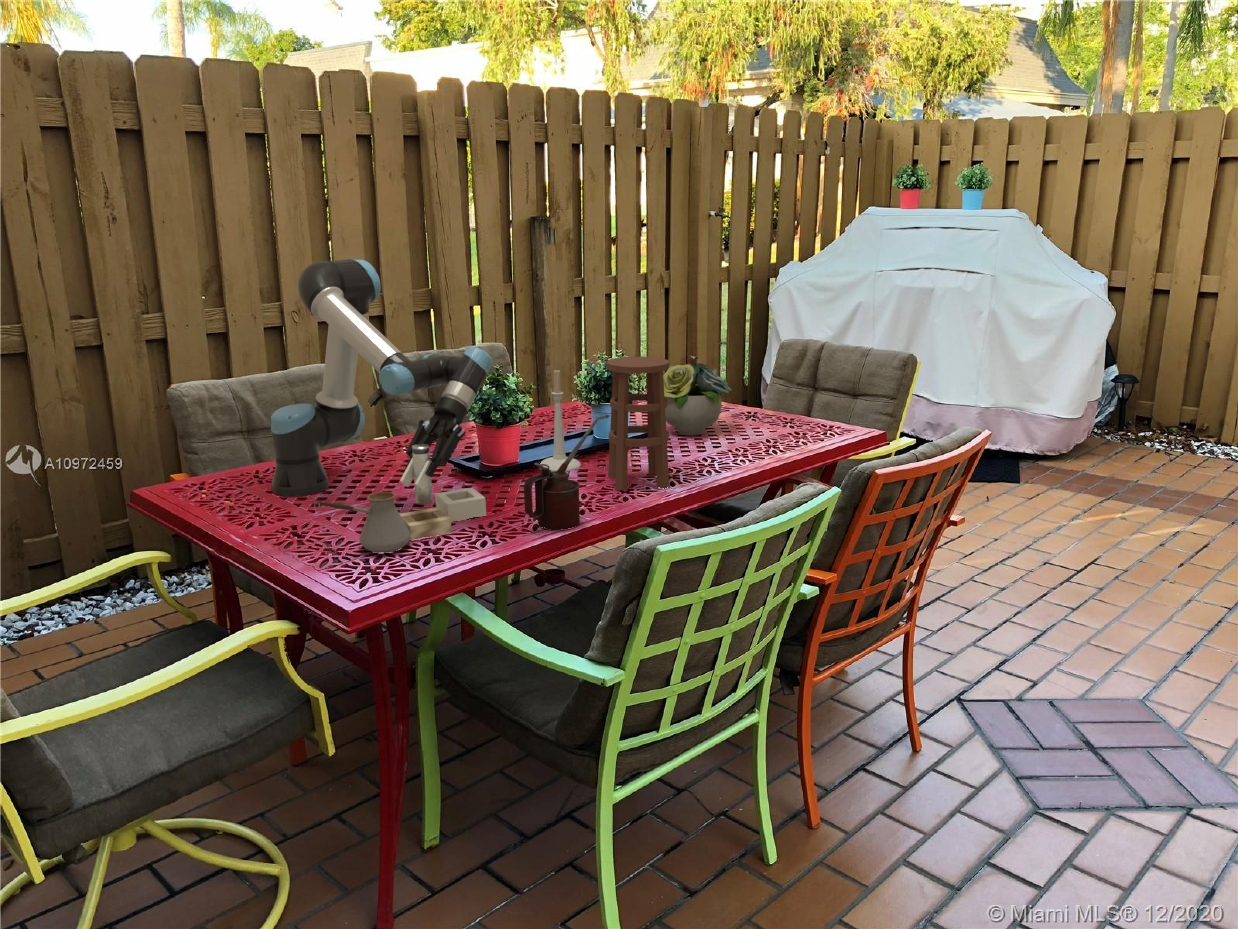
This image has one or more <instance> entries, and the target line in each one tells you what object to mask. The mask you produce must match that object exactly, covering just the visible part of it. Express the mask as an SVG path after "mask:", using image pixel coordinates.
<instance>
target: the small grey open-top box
mask: <svg viewBox="0 0 1238 929" xmlns="http://www.w3.org/2000/svg"><path fill="white" fill-rule="evenodd" d="M434 496H435V497H434V498H435V508H436V507H438V508H439V509H440V510H441V511H442V512H443V513H445V514H446V515H447V516H448V517H449V518H450V519H451V522H452V521H457V520H464V521H467V520H466V519H469V518H473V517H481V516H486V517H487V504H486V502H487V501H486V500H487V499H486V497H485V496H484V495H482V494H481V493H480V492H478V491H477V490H475V488H473V487H468V488H462V489H455V490H448V491H444V492H443V491H442V492H438V493H436V492H435V493H434ZM481 518H482V517H481ZM469 520H470V519H469Z"/></svg>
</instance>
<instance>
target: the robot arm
mask: <svg viewBox="0 0 1238 929" xmlns="http://www.w3.org/2000/svg"><path fill="white" fill-rule="evenodd" d="M381 288H382V287H381V280H380V276H379V274H378V273H377V271H376V269H375V267H374V266H373V265H372V264H371V263H370V262H368V261H366V260H363V259H354V258H348V259H339V260H326V261H325V260H321V261H319V260H318V261H315V262H312V263H311V264H309V265H307V266H306V267H305V268H304V269H303V270H302V271H301V273H300V275H299V277H298V282H297V291H298V296H299V299H300V300H301V302H302V304H303V306H304V307H305V308H306V310H308V312H309V313H311V315H313V316H314V317H315V318H317V319H323V321H324V322H326V323H327V324H328V328H327V339H326V350H325V358H324V359H325V360H324V370H323V380H322V387H321V388H322V389H321V391H319V392H318V393H317V394H316V396H315V404H314V405H312V404H310V403H296V404H290V405H289V404H288V405H285V406H282V407H280V408H278V409H276V410H275V411H273V412H272V415H271V416H270V425H271V426H270V431H271V434H272V442H273V443H272V444H273V450H274V458H275V469H274V473H273V478H272V483H271V488H272V493H273V492H274V493H276V494H279V495H278V496H280V495H282V497H303V496H302V495H304V496H309V494H310V495H313V494H312V493H315V494H317V493H321V492H323V491H325V490H327V489H328V488H329V486H330V482H329V478H328V475H327V473H326V470H325V468H324V467H323V464H322V462H321V459H320V448H323V447H327V446H330V445H334V444H337V443H344V442H348V441H349V440H351V439H354V438H357V437H358V436H359V435H360V434H361V433H362V431H363V428H364V427H365V420H366V419H365V413H364V412H363V410H364V409H363V407H362V405H361V404H360V403H359V399H358V397H357V396H356V395H354V393H355V384H356V374H357V366H358V359H359V358H358V357H359V356H358V355H360V356H361V357H362V358H363V360H365V361H366V362H367V363H368V364H369V365H371V367H373V368H374V370H376V372H378V373H379V374H378V380H379V384H380V385H381V387H382V388H381V389H382V390H383V391H384V392H385V393H386V394H388V395H390V396H398V395H399V396H400V395H407V394H410V393H414V392H418V391H421V390H422V391H423V390H426V389H430V388H435V387H439V386H445V389H444V390H443V392H442V394H441V397H440V398H439V400H438V402H437V403H436V405H435V406H434V412H433V413H434V414H433V415H432V416H431V417H430V419H429V420H426V421H425V420H424V419H420V420H419V421H418V426H417V429H416V430H415V433H414V435H413V437H412V439H411V441H410V443H409V444H408V447H407V448H406V451H405V454H406V455H407V456H408V457H409V460H408V462H407V464H406V465H405V468H404V470H405V471H404V473H403V474H402V476H401V478H400V480H399V481H400V482H401V484H403V485H404V486H405V487H407V488H409V487H410V485H411V483H412V481H413V480H414V469H413V455H412V446H413V445H416V444H428V445H429V447H431V446H432V445H433V443H434V442H436V443H435V445H434V448H433V452H432V455H431V456H430V458H429V459H430V461H428V460H427V462H426V464H425V466H424V467H423V469H422V471H421V473H420V475H419V477H418V479H417V481H416V483H414V486H415V485H417V486H418V487H419V488H420V489H421V490H424V488H425V486H426V484H427V482H428V480H429V478H430V477H431V478H432V477H433V476H434V474H435V472H436V470H437V469H438V467H439V466H440V465H443V466H446V465H447V464H448V462H449V461H450V458H451V457H452V455H453V454H454V452H455V451H456V448H457V447H458V444H459V442H460V440H461V439H462V438H464V436H466V434H467V432H466V430H465V429H464V428H463V427H462V426H461V424H462V423H464V420H465V419H466V417H467V415H468V411H469V409H470V408H471V406H472V405H473V402H474V400H475V399H476V396H477V395H478V393H479V392H480V389H481V387H482V385H483V384H484V382H485V380H486V377H487V376H489V372H490V370H491V367H492V365H493V359H492V357H491V355H489V353H487V352H486V351H485V350H484V349H481V348H480V347H477V346H469V347H467V348H466V349H465V350H464V352H462V354H463V355H448V354H447V355H446V354H445V355H444V354H439V353H435V354H426V355H424V356H423V357H422V358H420V359H413V360H410V359H409V358H408V357H407V356H406V355H405V354H403V353H402V351H400V349H399V348H397V347H396V345H394V344H393V343H392V342H391V341H390V340H389V339H388V338H387V337H386V336H385V335H384V334H382V332H380V331H379V330H378V329H377V328H376V327H375V326H374V325H373V324H372V323H371V322H370V321H369V320H368V319H367V318H366V317H365V316H366V315H368V314H369V311H370V304H371V303H373V302H375V301H376V300H377V299H378V298H379V296H380V294H381V290H382V289H381ZM274 493H273V494H274ZM276 494H275V495H276Z"/></svg>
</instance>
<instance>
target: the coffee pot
mask: <svg viewBox="0 0 1238 929" xmlns="http://www.w3.org/2000/svg"><path fill="white" fill-rule="evenodd" d="M396 497H397V495H396V493H394V492H392V491H391V492H390V491H380V492H379V491H378V492H373V493H370V494H369V495H368V496H367V497H366V499H367V501H369V503H370V507H369V508H363V507H356V506H352V505H350V504H349V505H348V504H343V503H340V502H339V503H338V502H329V501H328V500H326V501H323V500H318V501H316V502H314V505H313V508H314V510H315V511H318V510H319V509H320V506H325V507H326V508H327V507H330V508H332V509H333V508H334V509H338V510H344V511H345V510H346V511H354V512H361V513H366V514H367V516H366V519H365V522H364V525H363V527H362V530H361V533H360V536H359V542H360V545H361V546H362V547H363V548H364V549H366V550H368V551H369V550H370V551H373V552H391V551H396V550H398V549H400V548H402V547H403V548H404V547H405V546H406V545H407V543H408V542H410V540H409V539H410V532H409V530H408V528H407V526H406V525H405V523H404V521H403V519H402V517H401V516H400V514H401V513H399V511H398V510H399V509H397V507H396V505H395V504H394V503H395V498H396ZM316 505H318V507H317V509H316ZM403 548H402V549H403ZM370 551H369V552H370Z"/></svg>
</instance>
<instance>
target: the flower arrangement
mask: <svg viewBox="0 0 1238 929" xmlns="http://www.w3.org/2000/svg"><path fill="white" fill-rule="evenodd" d="M717 371H718V370H717V369H716V368H713V369H712V370H711V369H710V368H708V367H707V364H704V363H695V362H689V363H687V364H684V365H682V364H677V365H675V366H674V365H671V366H669V369H668V370H666V372H665V373H663V378H664V396H665V398H666V399H667V408H665V415H666V423H668V425H669V426H671V427H674V428H675V429H676V430H677V432H678V433H679V434H680V435H682V436H699V435H702V434H703V432H704V430H705V429H706V428H708V427H710V426H712V425H714V424H715V423H716V422H717V421H718V419H719V417H720V414H721V412H722V403H723V402H722V401H723V400H722V393H728V394H729V392H731V391H733V389H731V387H730V386H728V382H727V381H725V380H724V379H723V378H722V377H720V376H719V375H718V374H717Z"/></svg>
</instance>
